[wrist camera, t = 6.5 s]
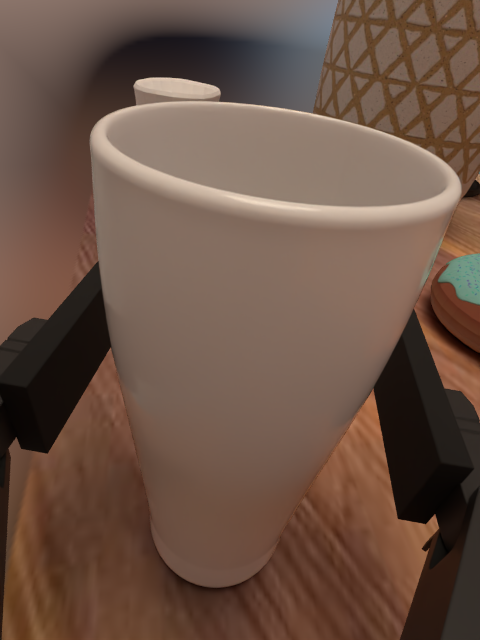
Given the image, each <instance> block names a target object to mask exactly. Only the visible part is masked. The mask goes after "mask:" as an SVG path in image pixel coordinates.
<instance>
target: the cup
mask: <svg viewBox="0 0 480 640" xmlns="http://www.w3.org/2000/svg"><path fill="white" fill-rule="evenodd" d="M134 90H135V96H136V106H137V105H143V104H150V103H160V102H176V101H208V102H219V98H220V90H219V88H217V87H215V86H212V85H208V84H204V83H199V82H195V81H190V80H185V79H177V78H147V79H142V80H137V81H136V83H135V84H134Z"/></svg>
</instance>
